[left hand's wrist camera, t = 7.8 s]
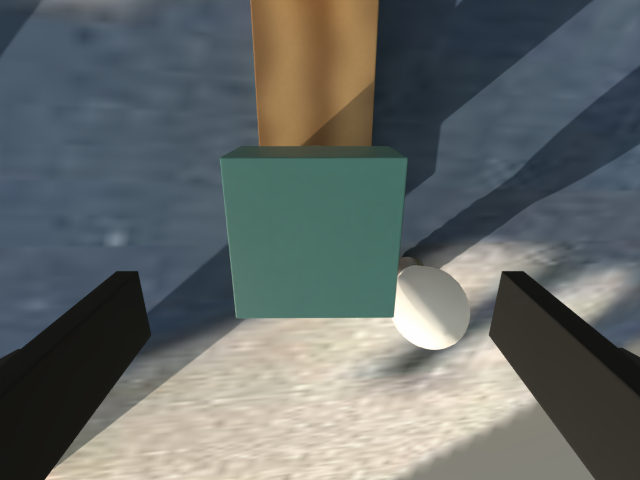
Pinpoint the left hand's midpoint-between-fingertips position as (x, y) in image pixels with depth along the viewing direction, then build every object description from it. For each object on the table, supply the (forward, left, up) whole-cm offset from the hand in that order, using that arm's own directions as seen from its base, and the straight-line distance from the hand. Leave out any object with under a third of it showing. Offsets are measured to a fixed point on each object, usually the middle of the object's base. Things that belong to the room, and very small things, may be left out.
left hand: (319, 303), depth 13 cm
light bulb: (+10, -10, -23) cm, 27 cm away
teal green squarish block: (0, 0, -11) cm, 11 cm away
